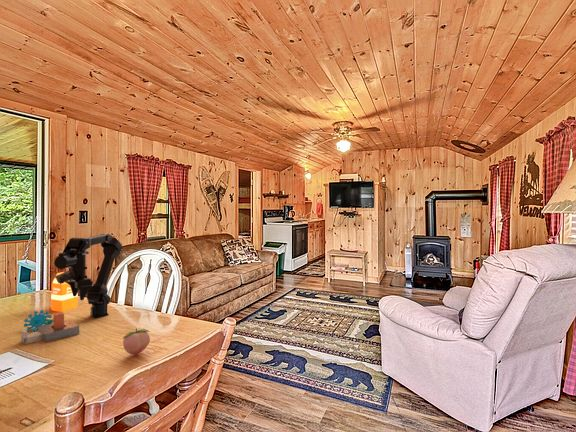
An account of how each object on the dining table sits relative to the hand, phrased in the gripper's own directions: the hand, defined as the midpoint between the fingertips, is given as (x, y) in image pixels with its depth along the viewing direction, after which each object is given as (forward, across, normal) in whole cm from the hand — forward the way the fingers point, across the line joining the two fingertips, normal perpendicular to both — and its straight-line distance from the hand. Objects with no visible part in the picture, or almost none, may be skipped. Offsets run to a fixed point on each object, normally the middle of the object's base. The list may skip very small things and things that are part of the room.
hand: (78, 298), depth 145 cm
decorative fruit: (+13, +48, +4) cm, 50 cm away
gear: (+13, -9, -12) cm, 20 cm away
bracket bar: (+13, +5, -18) cm, 23 cm away
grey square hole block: (+13, +5, -9) cm, 16 cm away
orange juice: (+13, -33, +4) cm, 36 cm away
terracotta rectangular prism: (+13, +5, -9) cm, 17 cm away
